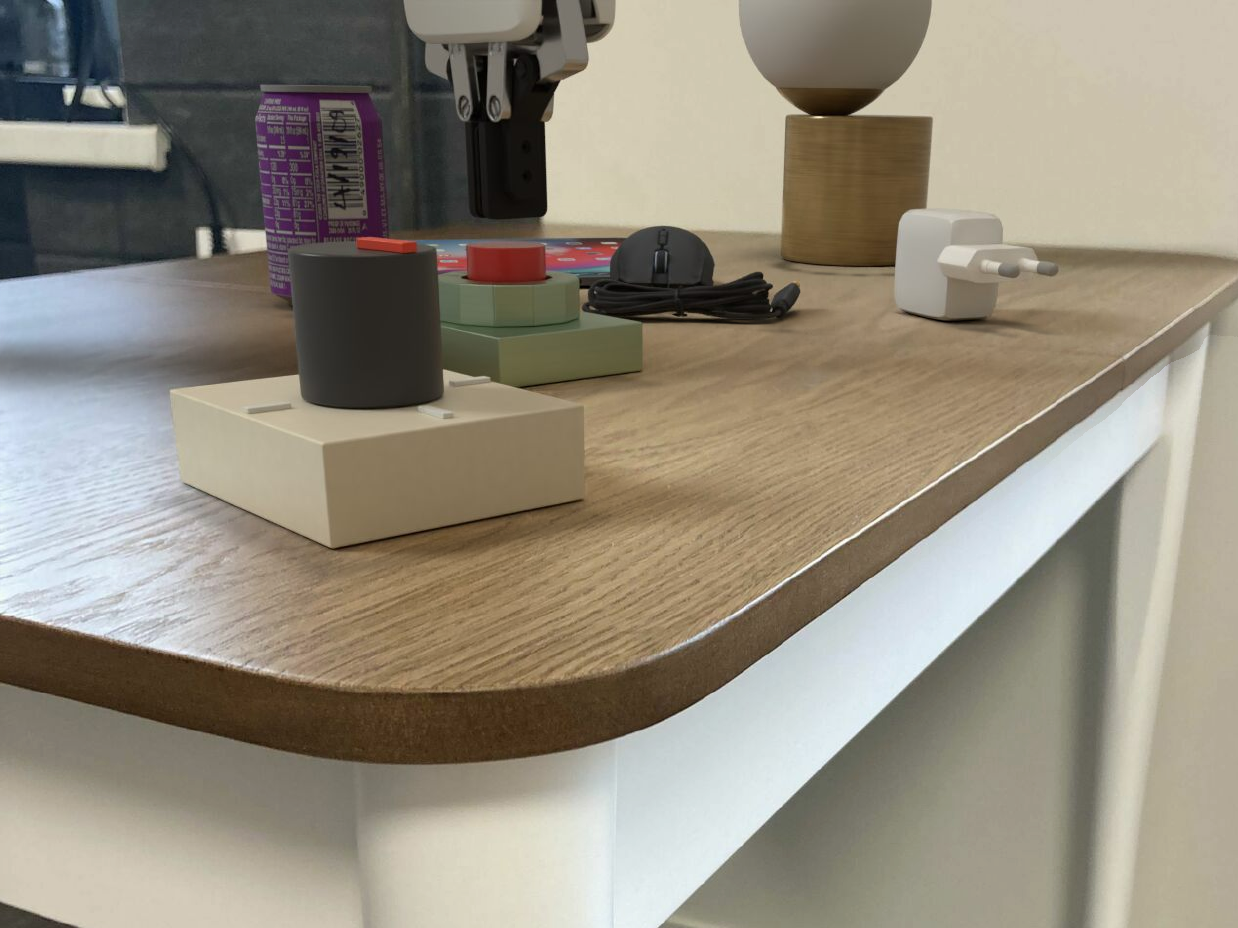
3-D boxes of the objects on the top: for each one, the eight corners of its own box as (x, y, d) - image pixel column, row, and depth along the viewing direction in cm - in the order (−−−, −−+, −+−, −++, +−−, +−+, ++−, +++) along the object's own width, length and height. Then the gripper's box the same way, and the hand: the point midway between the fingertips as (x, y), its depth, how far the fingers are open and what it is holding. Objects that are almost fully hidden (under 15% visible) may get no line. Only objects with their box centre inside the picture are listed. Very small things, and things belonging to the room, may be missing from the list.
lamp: (778, 272, 107) (792, -123, 97) (705, 253, 119) (711, -100, 109) (959, 266, 112) (990, -110, 102) (872, 248, 124) (892, -89, 114)
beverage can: (410, 298, 91) (397, 86, 86) (367, 314, 85) (351, 86, 80) (301, 294, 92) (283, 85, 87) (251, 309, 86) (229, 84, 81)
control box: (179, 481, 48) (167, 384, 47) (417, 444, 54) (412, 356, 52) (331, 549, 41) (321, 437, 40) (586, 499, 47) (584, 398, 45)
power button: (452, 283, 68) (450, 243, 67) (516, 278, 70) (515, 239, 70) (497, 291, 66) (495, 250, 65) (561, 285, 68) (561, 245, 67)
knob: (271, 395, 46) (256, 237, 44) (381, 377, 49) (371, 228, 47) (363, 415, 43) (351, 247, 41) (473, 394, 46) (466, 237, 45)
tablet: (430, 290, 94) (430, 277, 94) (392, 250, 116) (392, 239, 116) (716, 285, 99) (716, 272, 99) (628, 247, 121) (628, 237, 121)
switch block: (380, 359, 70) (374, 272, 69) (517, 343, 75) (515, 262, 74) (500, 390, 64) (496, 294, 62) (643, 370, 68) (643, 281, 67)
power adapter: (1065, 333, 81) (1078, 221, 79) (993, 338, 79) (1004, 223, 77) (948, 307, 90) (956, 206, 88) (881, 311, 88) (887, 207, 86)
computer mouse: (807, 285, 98) (810, 221, 96) (794, 327, 82) (797, 252, 80) (624, 279, 99) (624, 216, 97) (576, 320, 83) (575, 246, 81)
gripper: (681, -279, 57) (679, 224, 64) (464, -223, 67) (484, 205, 74) (521, -313, 52) (539, 233, 59) (315, -247, 62) (352, 211, 70)
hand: (508, 216), depth 67 cm, fingers closed
